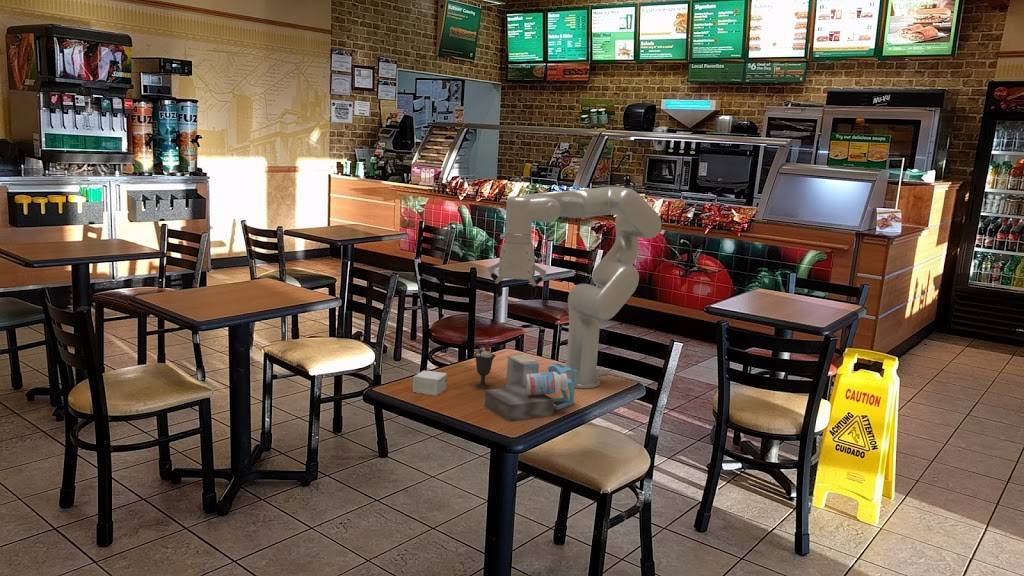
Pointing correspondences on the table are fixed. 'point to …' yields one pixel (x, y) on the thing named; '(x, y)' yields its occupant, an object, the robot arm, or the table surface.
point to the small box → (429, 382)
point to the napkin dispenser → (520, 370)
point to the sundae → (483, 364)
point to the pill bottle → (545, 383)
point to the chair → (571, 385)
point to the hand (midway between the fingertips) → (515, 297)
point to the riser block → (518, 403)
